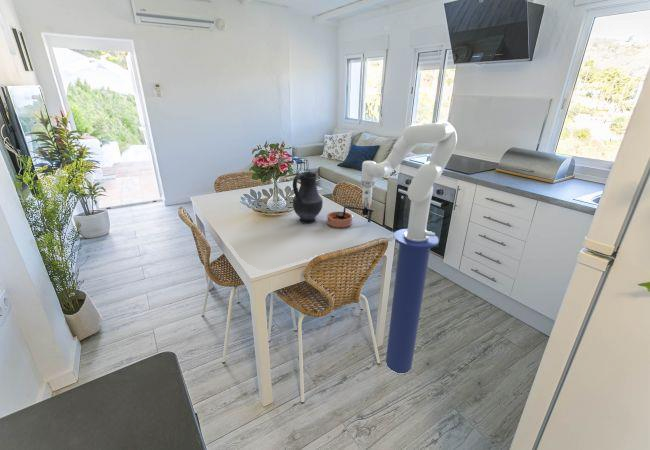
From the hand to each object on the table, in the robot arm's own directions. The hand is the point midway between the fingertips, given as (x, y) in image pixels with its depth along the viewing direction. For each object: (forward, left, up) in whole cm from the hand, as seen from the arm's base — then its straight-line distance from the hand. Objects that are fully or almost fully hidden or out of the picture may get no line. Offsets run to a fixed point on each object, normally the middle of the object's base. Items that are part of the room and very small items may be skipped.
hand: (365, 214), depth 182 cm
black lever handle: (+6, 0, -4) cm, 7 cm away
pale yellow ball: (+15, -2, -4) cm, 16 cm away
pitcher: (+35, +3, -7) cm, 35 cm away
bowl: (+15, +2, -7) cm, 16 cm away
